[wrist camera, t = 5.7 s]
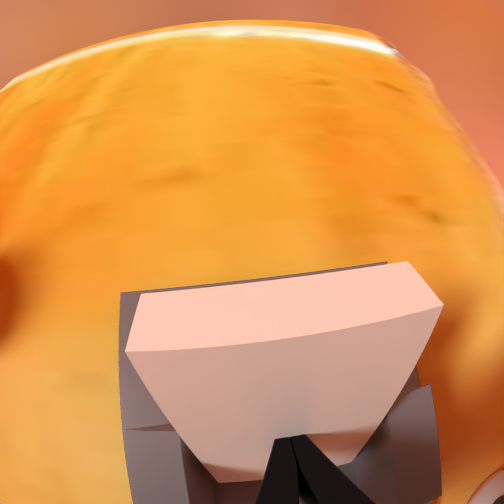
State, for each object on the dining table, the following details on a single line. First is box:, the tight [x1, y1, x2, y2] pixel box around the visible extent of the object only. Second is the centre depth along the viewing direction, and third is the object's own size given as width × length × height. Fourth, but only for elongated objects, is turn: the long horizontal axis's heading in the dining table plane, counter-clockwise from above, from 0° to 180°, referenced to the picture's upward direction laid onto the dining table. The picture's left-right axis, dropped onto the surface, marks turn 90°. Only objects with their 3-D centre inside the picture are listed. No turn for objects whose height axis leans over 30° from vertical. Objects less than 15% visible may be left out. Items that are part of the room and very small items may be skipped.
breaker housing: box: [119, 262, 442, 504], centre depth 10 cm, size 18×16×6 cm
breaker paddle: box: [125, 261, 444, 483], centre depth 8 cm, size 2×6×10 cm, turn 97°
